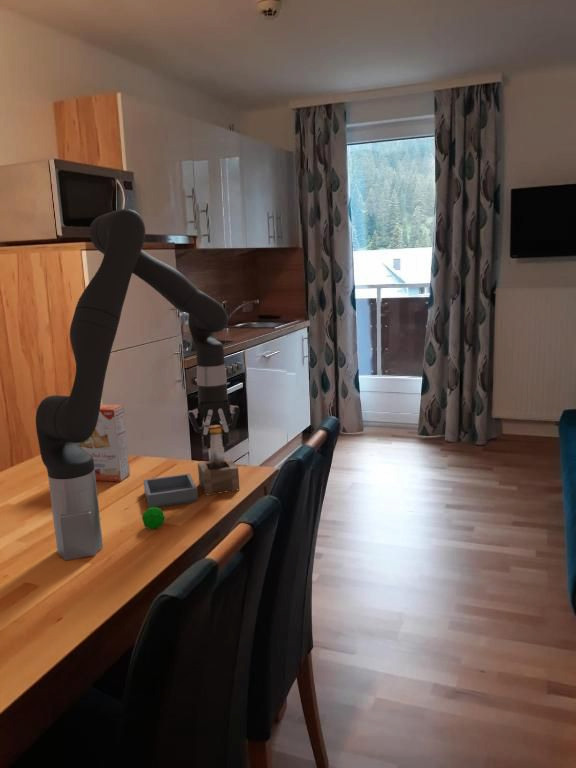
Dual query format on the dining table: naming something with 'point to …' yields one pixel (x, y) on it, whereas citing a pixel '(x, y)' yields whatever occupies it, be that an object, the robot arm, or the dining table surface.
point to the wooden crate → (218, 477)
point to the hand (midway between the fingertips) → (216, 446)
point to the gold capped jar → (216, 447)
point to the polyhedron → (153, 518)
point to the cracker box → (109, 445)
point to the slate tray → (170, 490)
